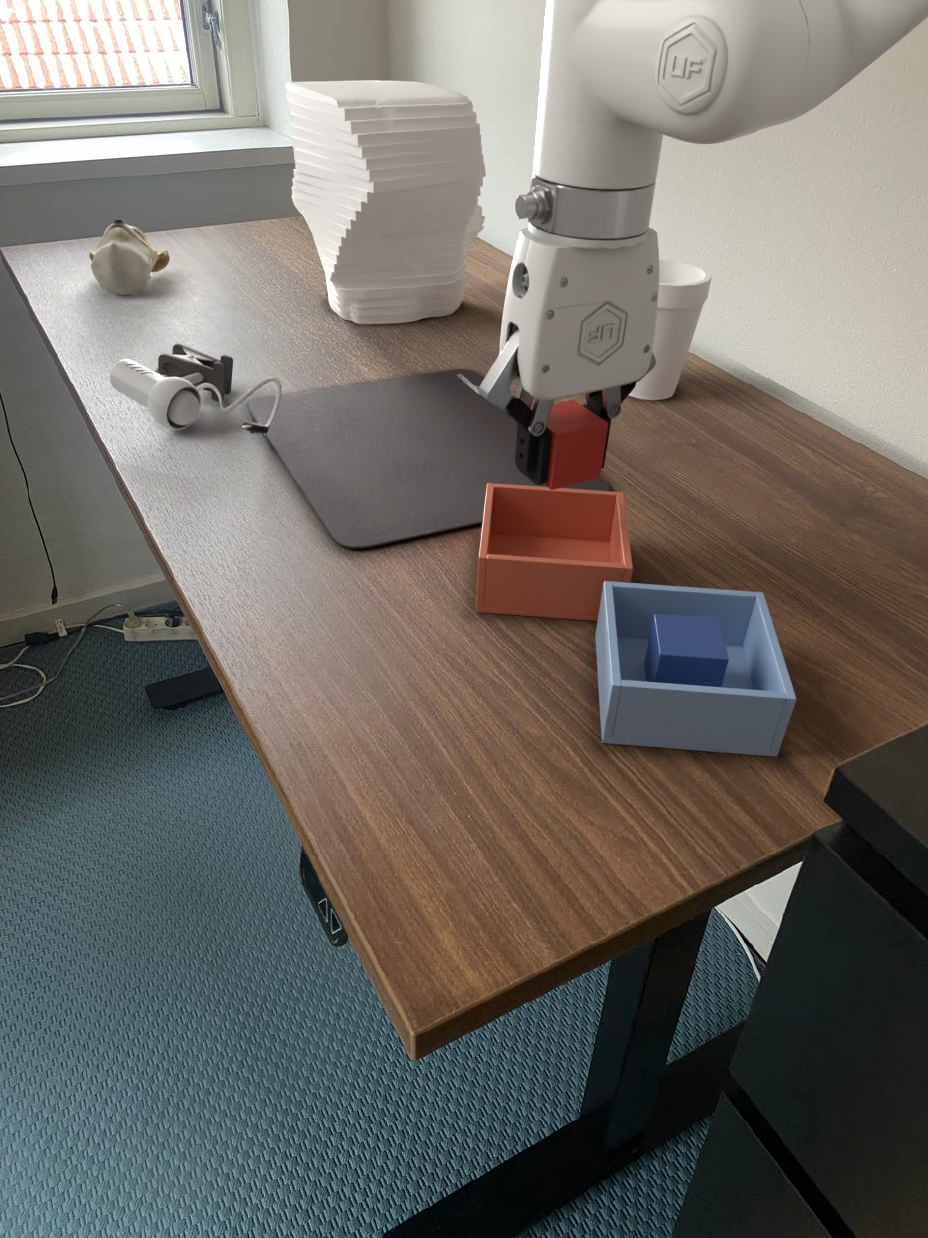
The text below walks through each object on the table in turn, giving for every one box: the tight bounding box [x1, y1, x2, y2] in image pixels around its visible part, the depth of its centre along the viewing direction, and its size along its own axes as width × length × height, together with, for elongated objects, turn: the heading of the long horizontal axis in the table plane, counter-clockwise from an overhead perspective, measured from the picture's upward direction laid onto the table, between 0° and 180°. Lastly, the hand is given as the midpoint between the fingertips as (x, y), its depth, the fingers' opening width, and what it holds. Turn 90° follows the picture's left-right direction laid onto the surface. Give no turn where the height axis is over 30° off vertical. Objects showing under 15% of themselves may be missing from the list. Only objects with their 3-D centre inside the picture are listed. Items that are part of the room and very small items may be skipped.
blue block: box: [644, 614, 729, 687], centre depth 62 cm, size 4×4×4 cm
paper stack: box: [284, 79, 487, 325], centre depth 115 cm, size 21×27×26 cm
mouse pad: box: [248, 368, 611, 550], centre depth 91 cm, size 32×27×1 cm
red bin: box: [475, 483, 634, 622], centre depth 73 cm, size 11×11×5 cm
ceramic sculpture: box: [88, 218, 171, 296], centre depth 125 cm, size 11×9×15 cm
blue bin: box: [594, 581, 797, 758], centre depth 62 cm, size 11×11×5 cm
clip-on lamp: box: [109, 342, 282, 435], centre depth 93 cm, size 12×6×18 cm
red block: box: [531, 399, 608, 490], centre depth 67 cm, size 4×4×4 cm
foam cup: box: [628, 257, 713, 401], centre depth 101 cm, size 10×9×13 cm
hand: (560, 466), depth 69 cm, fingers closed on red block, 4 cm apart
